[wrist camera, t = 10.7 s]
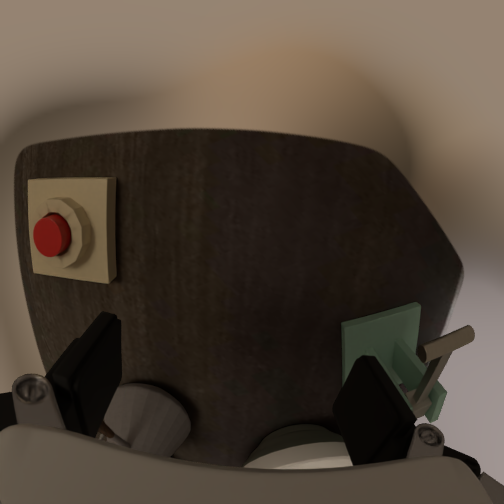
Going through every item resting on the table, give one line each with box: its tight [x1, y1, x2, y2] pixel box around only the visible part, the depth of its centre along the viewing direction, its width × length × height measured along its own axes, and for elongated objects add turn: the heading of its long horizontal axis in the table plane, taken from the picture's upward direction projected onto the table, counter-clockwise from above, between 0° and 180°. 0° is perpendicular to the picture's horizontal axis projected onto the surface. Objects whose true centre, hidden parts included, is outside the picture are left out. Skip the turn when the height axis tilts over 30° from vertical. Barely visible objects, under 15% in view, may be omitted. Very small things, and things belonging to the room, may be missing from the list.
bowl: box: [241, 424, 353, 469], centre depth 32 cm, size 20×20×10 cm
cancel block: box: [28, 177, 117, 284], centre depth 24 cm, size 10×10×4 cm
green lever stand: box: [341, 302, 447, 423], centre depth 27 cm, size 12×10×12 cm
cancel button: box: [33, 215, 71, 257], centre depth 22 cm, size 4×4×2 cm
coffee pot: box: [98, 383, 191, 457], centre depth 24 cm, size 21×12×15 cm, turn 179°
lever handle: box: [405, 325, 475, 418], centre depth 20 cm, size 12×5×2 cm, turn 10°
